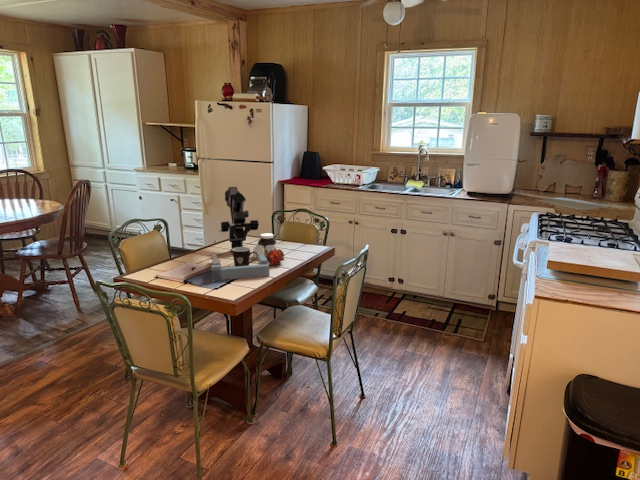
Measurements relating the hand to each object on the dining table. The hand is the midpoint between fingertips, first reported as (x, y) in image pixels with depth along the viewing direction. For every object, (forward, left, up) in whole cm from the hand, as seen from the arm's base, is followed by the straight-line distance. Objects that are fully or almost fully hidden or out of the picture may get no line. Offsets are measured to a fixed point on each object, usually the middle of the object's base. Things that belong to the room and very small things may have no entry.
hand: (241, 240), depth 224 cm
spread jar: (-17, +3, -13) cm, 21 cm away
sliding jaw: (+12, -7, -12) cm, 19 cm away
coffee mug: (+7, +5, -13) cm, 15 cm away
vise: (+13, +7, -13) cm, 20 cm away
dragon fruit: (-7, +15, -13) cm, 21 cm away
